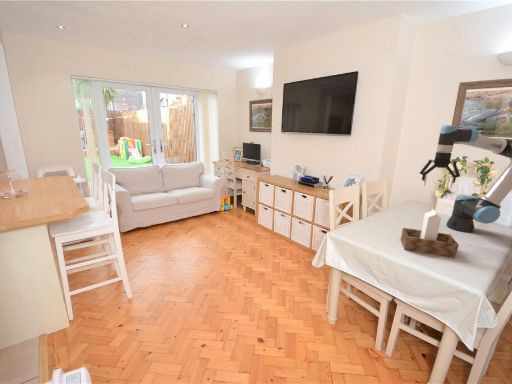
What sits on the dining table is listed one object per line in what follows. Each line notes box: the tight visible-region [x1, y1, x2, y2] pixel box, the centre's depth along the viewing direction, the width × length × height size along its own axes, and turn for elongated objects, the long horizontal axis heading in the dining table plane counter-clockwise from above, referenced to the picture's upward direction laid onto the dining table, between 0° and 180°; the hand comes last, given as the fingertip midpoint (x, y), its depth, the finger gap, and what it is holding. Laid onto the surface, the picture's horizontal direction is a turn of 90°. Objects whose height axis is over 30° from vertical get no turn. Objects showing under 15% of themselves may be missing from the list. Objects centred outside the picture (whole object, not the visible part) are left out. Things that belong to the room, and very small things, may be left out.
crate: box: [400, 227, 460, 259], centre depth 144 cm, size 24×14×8 cm, turn 68°
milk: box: [420, 208, 442, 241], centre depth 142 cm, size 6×6×22 cm
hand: (436, 186), depth 156 cm, fingers open, 13 cm apart
